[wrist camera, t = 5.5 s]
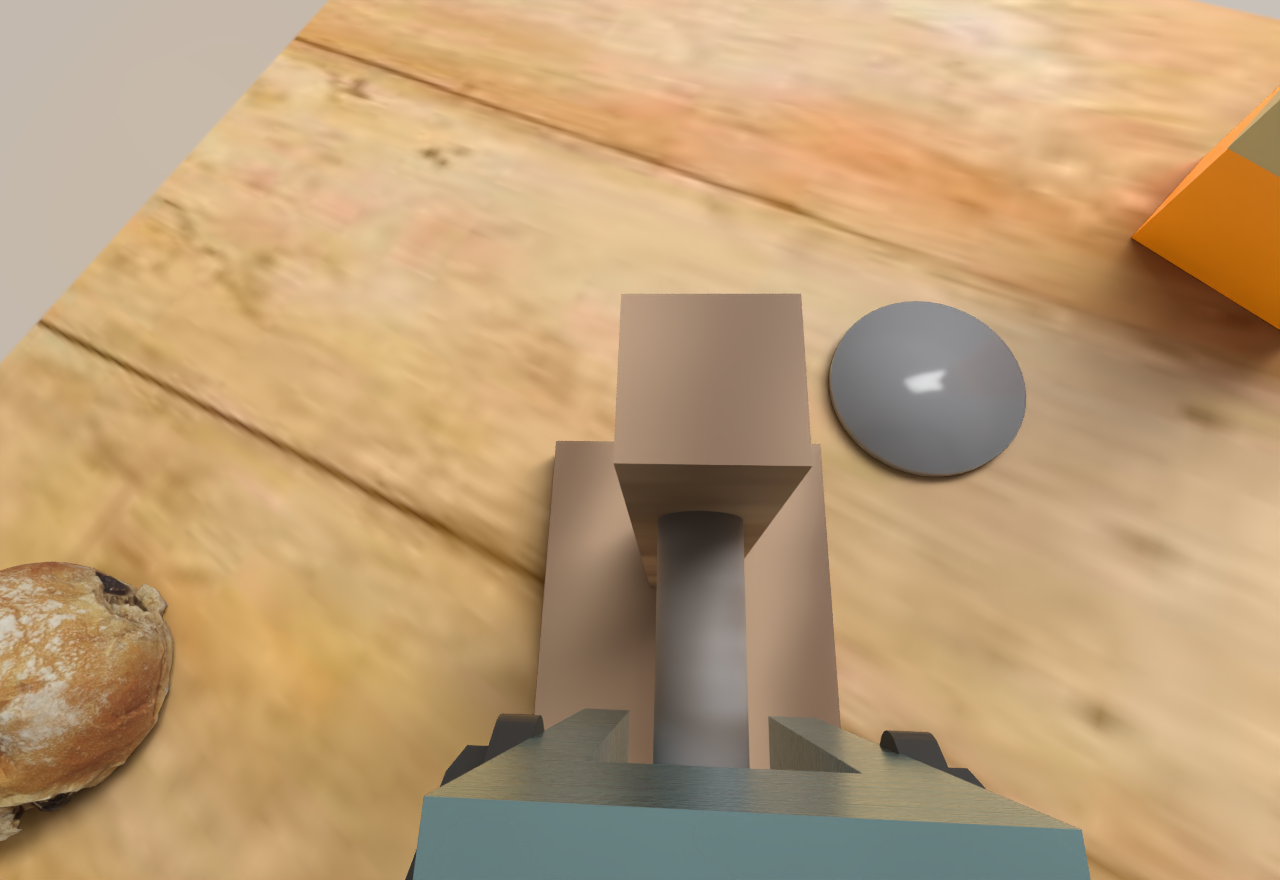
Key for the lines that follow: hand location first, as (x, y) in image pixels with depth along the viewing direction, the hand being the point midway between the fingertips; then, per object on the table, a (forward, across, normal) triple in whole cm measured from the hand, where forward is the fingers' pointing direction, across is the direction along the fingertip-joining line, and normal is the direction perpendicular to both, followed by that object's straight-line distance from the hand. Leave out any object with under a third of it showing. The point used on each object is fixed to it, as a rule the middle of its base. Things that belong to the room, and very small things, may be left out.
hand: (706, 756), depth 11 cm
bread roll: (+11, +27, +12) cm, 32 cm away
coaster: (+21, -11, +1) cm, 24 cm away
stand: (+13, 0, +9) cm, 16 cm away
